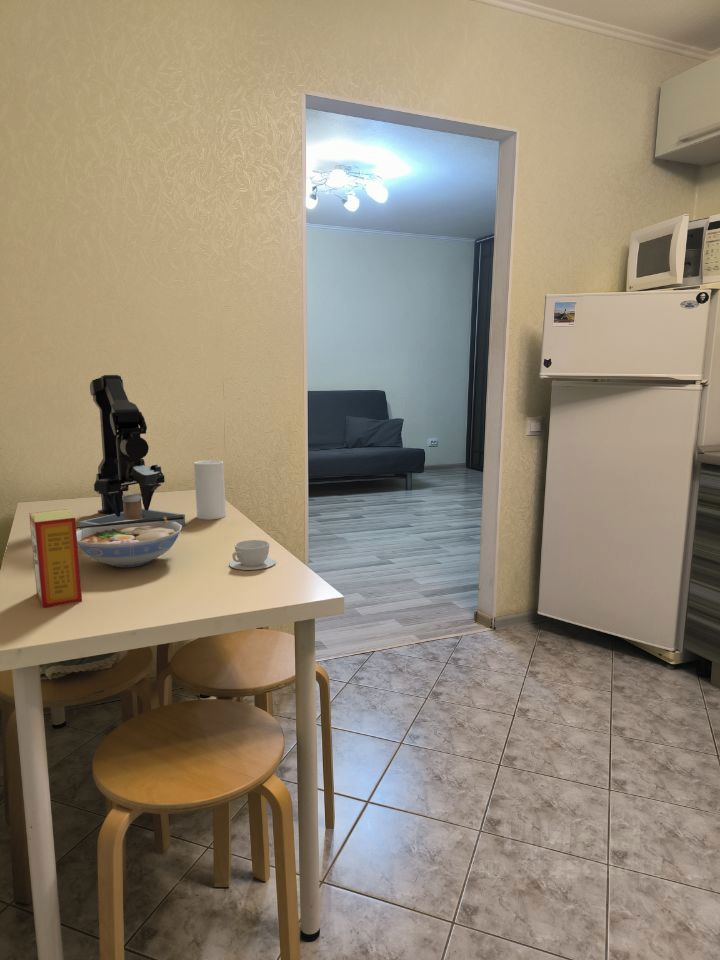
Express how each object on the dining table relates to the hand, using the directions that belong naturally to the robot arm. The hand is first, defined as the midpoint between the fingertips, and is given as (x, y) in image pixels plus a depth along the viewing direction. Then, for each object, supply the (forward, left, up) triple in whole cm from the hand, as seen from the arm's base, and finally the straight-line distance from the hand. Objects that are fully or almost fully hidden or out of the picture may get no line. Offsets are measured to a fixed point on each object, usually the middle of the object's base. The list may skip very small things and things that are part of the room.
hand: (132, 513), depth 176 cm
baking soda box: (+33, -44, -4) cm, 55 cm away
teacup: (+50, -9, -5) cm, 51 cm away
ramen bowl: (+26, -22, -4) cm, 34 cm away
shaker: (0, 0, -4) cm, 4 cm away
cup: (+7, +22, -4) cm, 24 cm away
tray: (0, 0, -4) cm, 4 cm away
